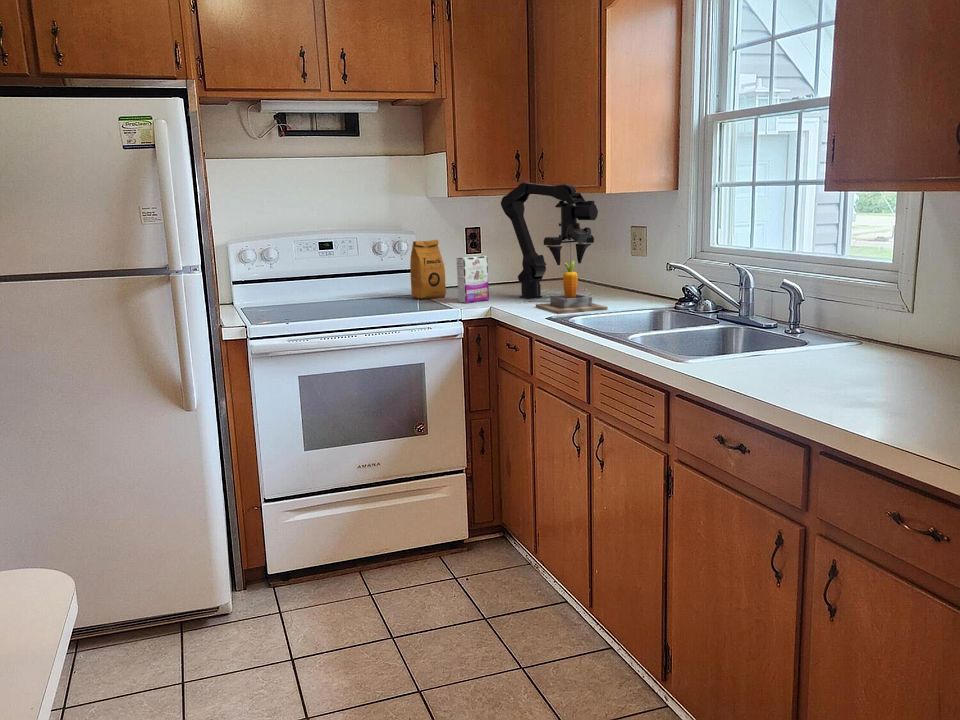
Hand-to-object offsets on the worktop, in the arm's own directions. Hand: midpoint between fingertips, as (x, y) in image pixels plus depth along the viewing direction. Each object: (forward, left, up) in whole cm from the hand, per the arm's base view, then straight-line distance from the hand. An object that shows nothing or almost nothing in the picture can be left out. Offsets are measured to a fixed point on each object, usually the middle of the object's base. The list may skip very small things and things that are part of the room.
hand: (569, 264), depth 300 cm
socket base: (-12, -17, -13) cm, 25 cm away
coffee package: (-36, +41, -13) cm, 56 cm away
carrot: (-12, -17, -12) cm, 24 cm away
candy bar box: (-28, +21, -13) cm, 37 cm away
